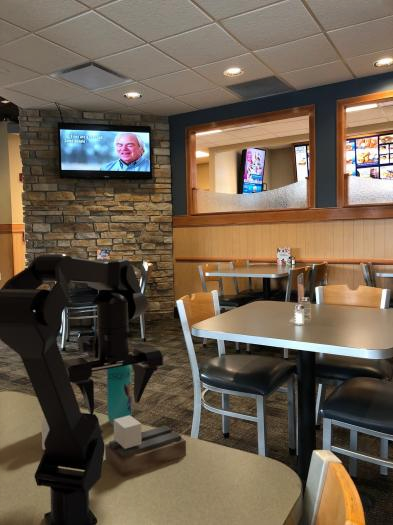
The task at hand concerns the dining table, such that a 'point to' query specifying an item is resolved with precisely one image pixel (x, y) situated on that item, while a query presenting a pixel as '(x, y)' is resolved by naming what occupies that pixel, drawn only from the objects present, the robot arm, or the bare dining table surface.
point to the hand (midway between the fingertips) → (114, 407)
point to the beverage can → (119, 392)
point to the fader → (127, 431)
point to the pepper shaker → (44, 431)
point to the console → (146, 451)
